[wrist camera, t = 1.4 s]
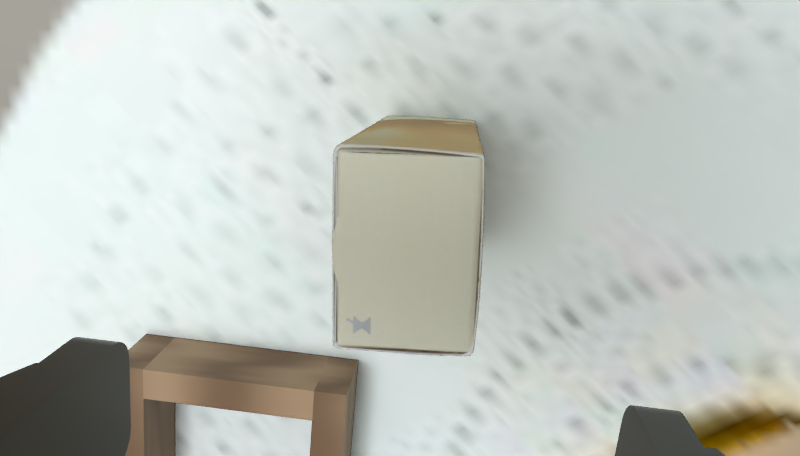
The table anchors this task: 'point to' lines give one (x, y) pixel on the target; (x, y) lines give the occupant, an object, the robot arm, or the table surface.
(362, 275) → the skincare box
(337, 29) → the table surface
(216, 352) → the walnut socket
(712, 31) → the table surface
